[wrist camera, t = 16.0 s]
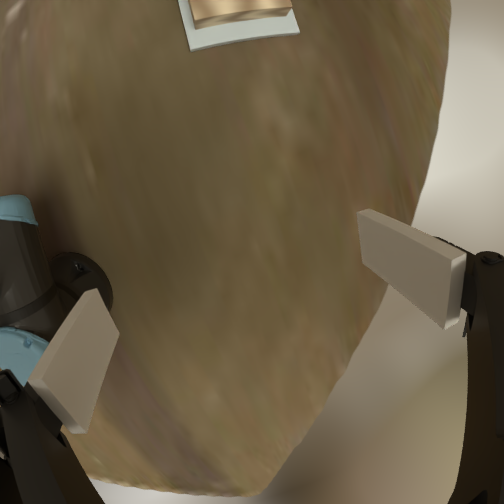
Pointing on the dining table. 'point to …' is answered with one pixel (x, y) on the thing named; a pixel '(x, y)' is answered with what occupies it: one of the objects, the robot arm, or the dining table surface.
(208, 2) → the tan flat block
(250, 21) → the board
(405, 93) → the dining table surface
